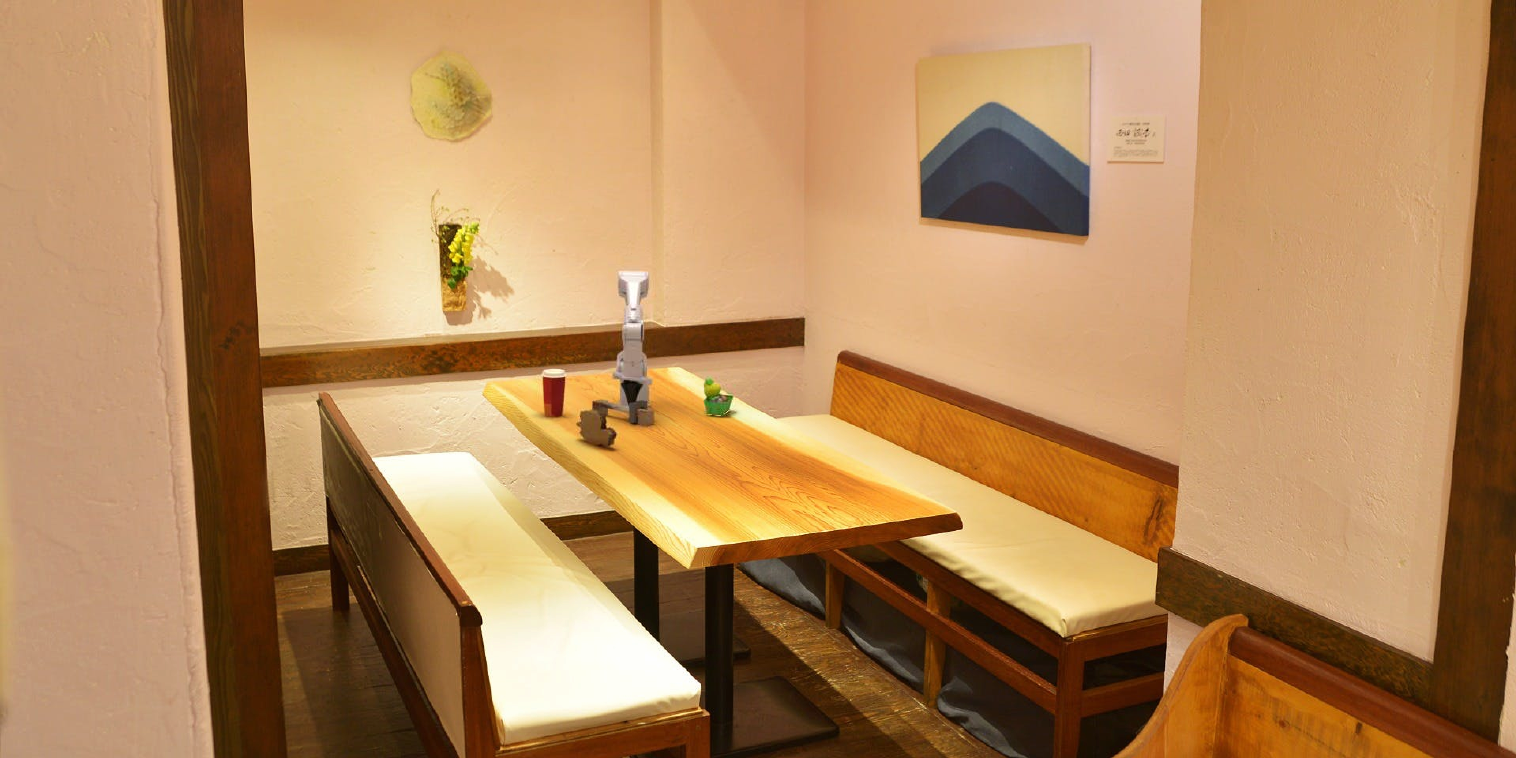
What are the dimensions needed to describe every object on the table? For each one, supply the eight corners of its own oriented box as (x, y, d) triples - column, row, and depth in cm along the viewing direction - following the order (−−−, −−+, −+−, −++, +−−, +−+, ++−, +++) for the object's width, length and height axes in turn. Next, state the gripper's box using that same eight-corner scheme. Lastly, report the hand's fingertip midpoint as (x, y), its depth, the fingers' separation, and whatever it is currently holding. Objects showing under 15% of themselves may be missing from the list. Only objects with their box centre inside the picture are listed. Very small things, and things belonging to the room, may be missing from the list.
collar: (628, 422, 394) (629, 403, 393) (641, 419, 399) (642, 400, 398) (633, 423, 393) (634, 404, 392) (646, 420, 398) (647, 401, 397)
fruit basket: (725, 418, 407) (727, 383, 405) (698, 416, 409) (699, 381, 407) (733, 410, 418) (735, 376, 416) (707, 408, 420) (708, 374, 418)
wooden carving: (621, 448, 365) (622, 414, 363) (609, 451, 362) (610, 416, 360) (583, 437, 376) (584, 404, 374) (571, 440, 372) (571, 406, 370)
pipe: (592, 414, 405) (592, 400, 404) (601, 412, 408) (601, 398, 407) (645, 426, 392) (645, 411, 391) (653, 424, 395) (654, 409, 394)
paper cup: (568, 413, 405) (569, 369, 403) (562, 418, 398) (563, 374, 395) (544, 411, 406) (544, 368, 403) (537, 416, 399) (538, 372, 396)
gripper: (606, 359, 395) (605, 403, 398) (641, 366, 387) (640, 410, 390) (621, 357, 401) (620, 399, 403) (657, 363, 393) (656, 407, 395)
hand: (631, 404), depth 397 cm, fingers closed
